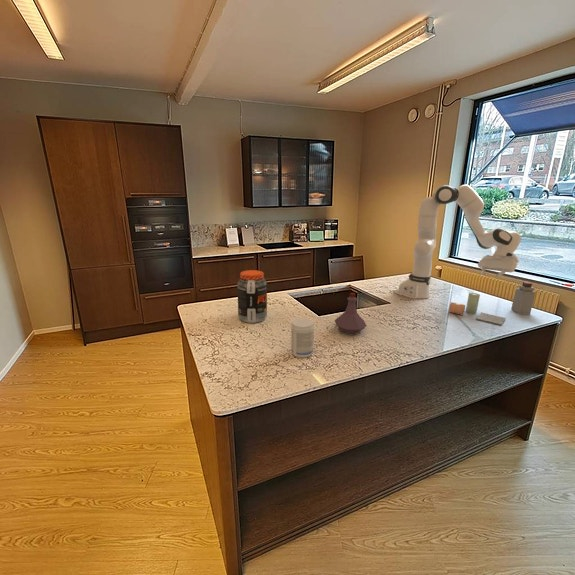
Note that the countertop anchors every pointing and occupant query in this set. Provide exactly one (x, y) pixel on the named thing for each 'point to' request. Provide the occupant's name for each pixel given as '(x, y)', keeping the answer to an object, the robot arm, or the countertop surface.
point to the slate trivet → (490, 318)
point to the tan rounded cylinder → (456, 308)
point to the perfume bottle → (523, 298)
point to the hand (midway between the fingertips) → (489, 275)
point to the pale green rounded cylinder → (472, 303)
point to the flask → (350, 318)
